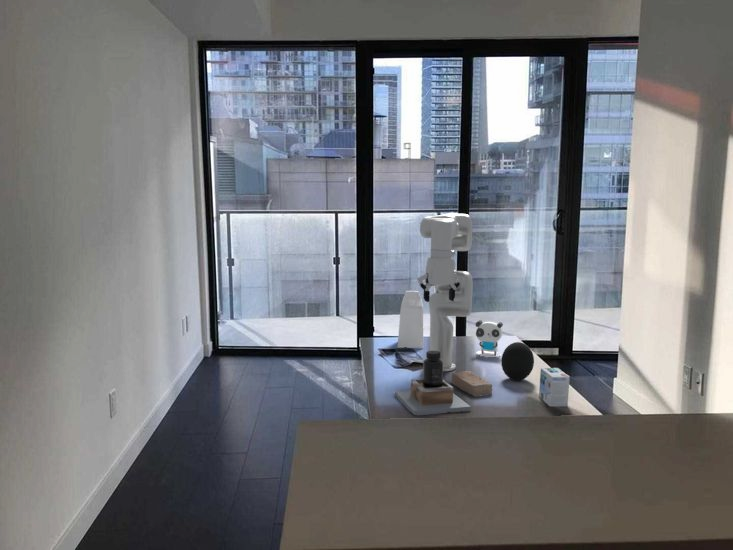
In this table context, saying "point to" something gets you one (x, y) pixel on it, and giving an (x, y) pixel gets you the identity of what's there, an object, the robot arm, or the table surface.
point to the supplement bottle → (432, 370)
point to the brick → (471, 383)
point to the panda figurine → (488, 337)
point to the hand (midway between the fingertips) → (439, 300)
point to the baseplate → (420, 409)
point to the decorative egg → (517, 361)
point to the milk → (411, 321)
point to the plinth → (431, 393)
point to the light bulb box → (554, 387)
